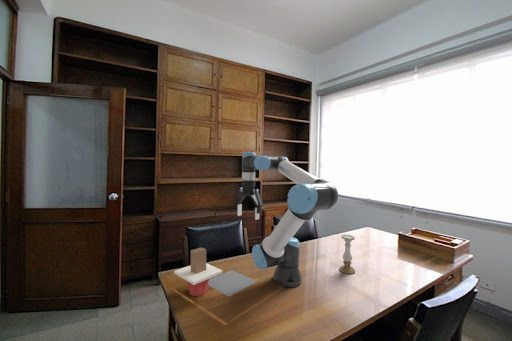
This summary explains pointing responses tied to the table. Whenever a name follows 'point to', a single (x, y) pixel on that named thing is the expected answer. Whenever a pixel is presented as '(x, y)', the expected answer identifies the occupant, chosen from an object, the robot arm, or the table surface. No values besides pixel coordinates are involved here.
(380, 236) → the table surface
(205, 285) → the flower pot
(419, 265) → the table surface
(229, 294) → the mat
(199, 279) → the lid
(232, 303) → the table surface
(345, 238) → the candle holder
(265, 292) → the table surface
